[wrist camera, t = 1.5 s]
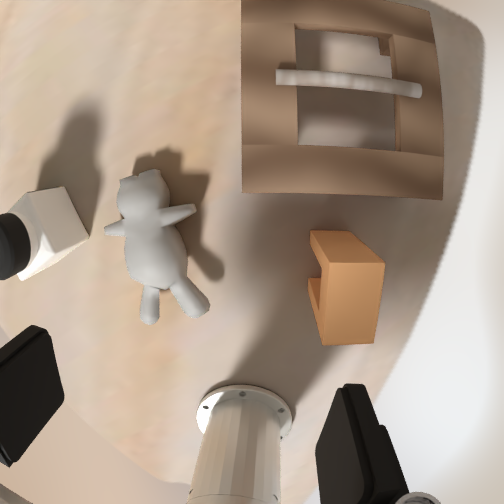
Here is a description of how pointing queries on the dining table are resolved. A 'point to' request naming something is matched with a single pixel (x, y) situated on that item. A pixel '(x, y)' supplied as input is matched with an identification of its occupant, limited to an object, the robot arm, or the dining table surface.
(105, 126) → the dining table surface
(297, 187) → the brown square frame
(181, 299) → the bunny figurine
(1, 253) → the medicine bottle
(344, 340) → the orange boxy part
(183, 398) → the dining table surface
